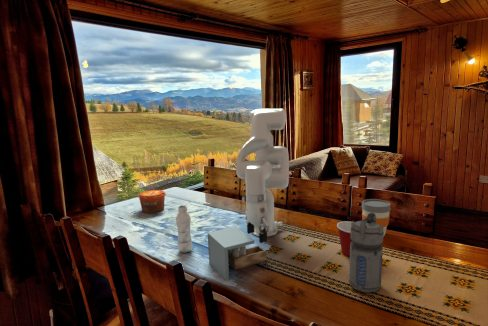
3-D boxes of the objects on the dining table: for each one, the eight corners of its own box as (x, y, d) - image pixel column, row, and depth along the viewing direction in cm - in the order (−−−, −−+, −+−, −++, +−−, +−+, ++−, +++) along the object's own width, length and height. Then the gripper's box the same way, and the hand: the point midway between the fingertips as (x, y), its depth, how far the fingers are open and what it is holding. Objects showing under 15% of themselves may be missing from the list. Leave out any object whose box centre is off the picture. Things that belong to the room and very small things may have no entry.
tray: (258, 255, 138) (258, 238, 136) (266, 261, 133) (266, 243, 131) (228, 263, 131) (227, 246, 130) (234, 270, 126) (234, 251, 125)
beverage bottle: (385, 280, 116) (389, 212, 111) (375, 299, 105) (379, 224, 101) (356, 272, 122) (358, 207, 117) (344, 289, 111) (346, 218, 107)
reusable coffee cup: (358, 236, 154) (359, 205, 151) (362, 226, 165) (363, 197, 162) (388, 240, 148) (389, 208, 145) (390, 230, 159) (392, 200, 156)
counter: (236, 255, 138) (234, 226, 136) (255, 271, 124) (254, 240, 122) (209, 262, 133) (207, 232, 131) (226, 280, 119) (224, 247, 117)
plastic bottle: (178, 255, 140) (175, 210, 136) (177, 248, 146) (174, 205, 142) (193, 253, 141) (191, 208, 138) (191, 246, 148) (189, 203, 144)
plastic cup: (357, 262, 130) (358, 233, 127) (331, 254, 137) (332, 226, 134) (367, 252, 138) (369, 224, 135) (343, 245, 145) (343, 219, 142)
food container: (139, 207, 206) (137, 191, 204) (165, 204, 211) (164, 188, 209) (139, 215, 191) (137, 197, 189) (167, 212, 196) (166, 194, 194)
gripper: (276, 201, 124) (276, 243, 128) (253, 189, 139) (254, 227, 143) (258, 205, 120) (259, 248, 124) (237, 192, 135) (238, 231, 139)
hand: (256, 237), depth 133 cm, fingers open, 9 cm apart
